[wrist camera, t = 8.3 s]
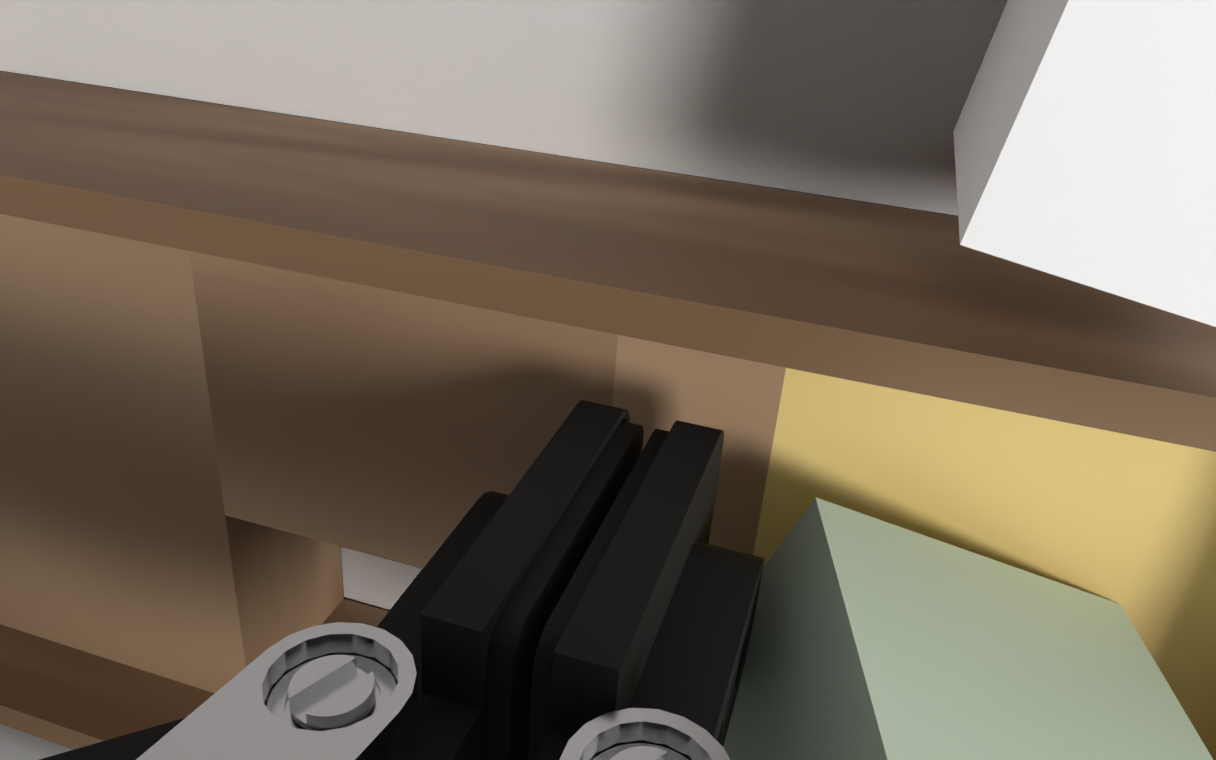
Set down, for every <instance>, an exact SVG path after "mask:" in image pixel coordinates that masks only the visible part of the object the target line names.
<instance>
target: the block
mask: <svg viewBox="0 0 1216 760" xmlns="http://www.w3.org/2000/svg"><path fill="white" fill-rule="evenodd" d="M723 748H724V749H725V751H726V753H727V755H728V756H729V758H730V760H1213V758H1212V757H1211V755H1210V753H1209V752H1208V750H1207V748H1206V746H1205V745H1204V743H1203V741H1202V740H1201V738H1200V736H1199V735H1198V733H1197V731H1196V730H1195V728H1194V726H1193V725H1192V723H1191V721H1190V720H1189V718H1188V716H1187V714H1186V713H1185V711H1184V709H1183V708H1182V706H1181V704H1180V703H1179V701H1178V699H1177V698H1176V696H1175V694H1174V693H1173V691H1172V689H1171V688H1170V686H1169V684H1168V682H1167V681H1166V679H1165V677H1164V676H1163V674H1162V672H1161V671H1160V669H1159V667H1158V666H1157V664H1156V662H1155V661H1154V659H1153V657H1152V656H1151V654H1150V652H1149V650H1148V649H1147V647H1146V645H1145V644H1144V642H1143V640H1142V639H1141V637H1140V635H1139V634H1138V632H1137V630H1136V629H1135V627H1134V625H1133V623H1132V622H1131V620H1130V618H1129V617H1128V615H1127V613H1126V612H1125V610H1124V608H1123V607H1122V605H1121V604H1119V603H1116V602H1113V601H1110V600H1107V599H1104V598H1101V597H1099V596H1096V595H1093V594H1090V593H1087V592H1084V591H1081V590H1079V589H1076V588H1073V587H1070V586H1067V585H1064V584H1062V583H1059V582H1056V581H1053V580H1050V579H1047V578H1044V577H1042V576H1039V575H1036V574H1033V573H1030V572H1027V571H1024V570H1022V569H1019V568H1016V567H1013V566H1010V565H1007V564H1005V563H1002V562H999V561H996V560H993V559H990V558H987V557H985V556H982V555H979V554H976V553H973V552H970V551H967V550H965V549H962V548H959V547H956V546H953V545H950V544H947V543H945V542H942V541H939V540H936V539H933V538H930V537H928V536H925V535H922V534H919V533H916V532H913V531H910V530H908V529H905V528H902V527H899V526H896V525H893V524H890V523H888V522H885V521H882V520H879V519H876V518H873V517H870V516H868V515H865V514H862V513H859V512H856V511H853V510H851V509H848V508H845V507H842V506H839V505H836V504H833V503H831V502H828V501H825V500H822V499H819V498H816V497H815V499H814V500H813V501H812V503H811V504H810V505H809V507H808V508H807V509H806V511H805V512H804V514H803V515H802V516H801V518H800V519H799V520H798V522H797V523H796V524H795V526H794V527H793V529H792V530H791V531H790V533H789V534H788V535H787V537H786V538H785V539H784V541H783V542H782V544H781V545H780V546H779V548H778V549H777V550H776V552H775V553H774V554H773V556H772V557H771V559H770V560H769V561H768V563H767V564H766V565H765V567H764V568H763V572H762V578H761V584H760V589H759V594H758V600H757V605H756V611H755V616H754V621H753V626H752V631H751V636H750V640H749V645H748V649H747V654H746V658H745V663H744V667H743V672H742V676H741V680H740V684H739V688H738V692H737V696H736V700H735V703H734V707H733V711H732V715H731V719H730V723H729V726H728V730H727V734H726V738H725V742H724V745H723Z"/></svg>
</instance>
